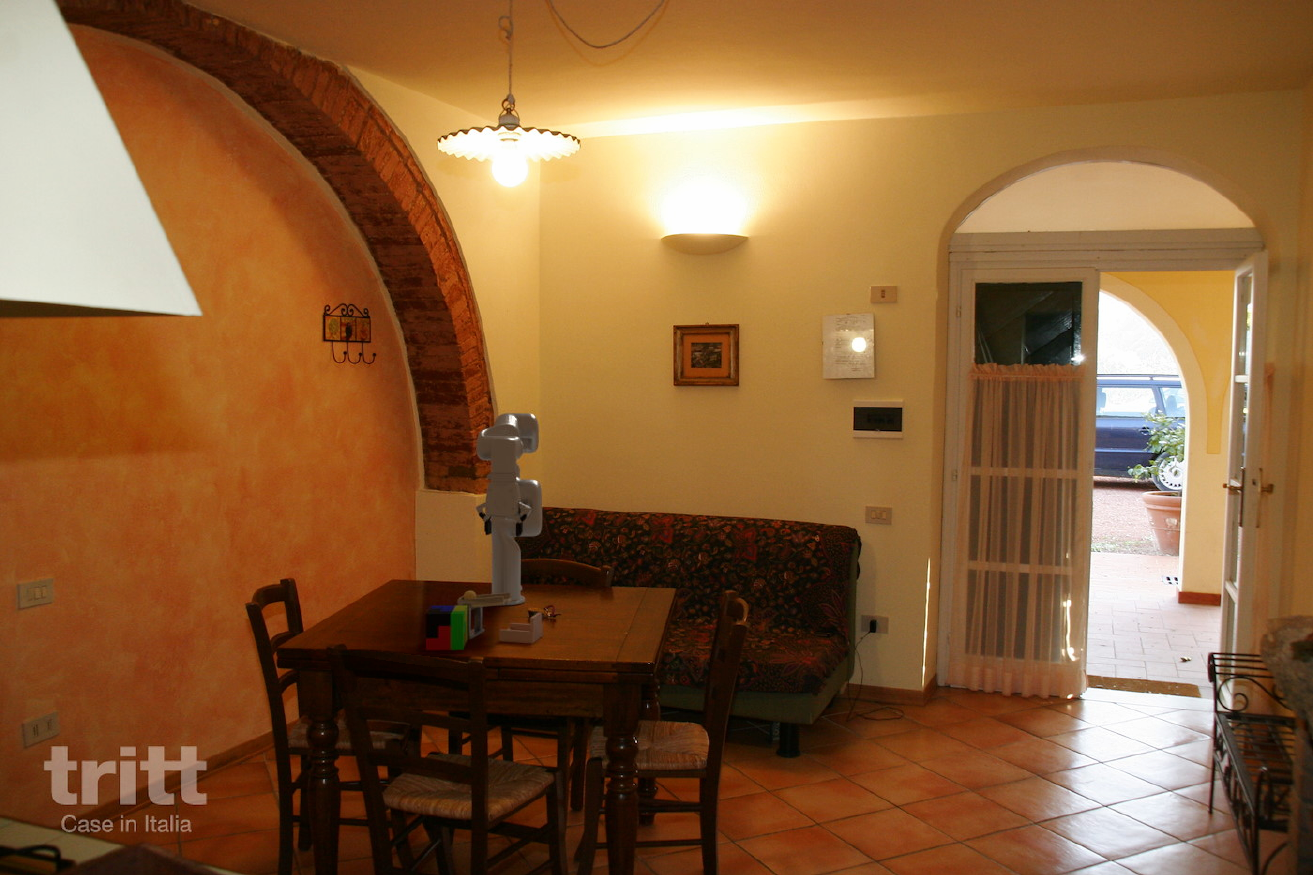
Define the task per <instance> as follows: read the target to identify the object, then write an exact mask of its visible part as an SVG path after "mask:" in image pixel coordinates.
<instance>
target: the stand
mask: <svg viewBox="0 0 1313 875" xmlns="http://www.w3.org/2000/svg"><path fill="white" fill-rule="evenodd" d="M463 606H467V640H472V639H474V638H475V637H477V636H479V635H481V634H483V633H484V632H486V631H485V630H486V629H485V628H483V607H476V608H475V609H473V610H474V611H473V612H474V615H473V617H474V622H473V627H474V628H473V629H472V627H471V626H472V622H471V621H472V620H471V619H472V612H471V611H472V610H471V604H469V603H464V604H463Z"/></svg>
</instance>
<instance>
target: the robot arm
mask: <svg viewBox="0 0 1313 875" xmlns="http://www.w3.org/2000/svg"><path fill="white" fill-rule="evenodd" d="M538 422H539V421H538V419H537V417H536V416H535V415H534V414H533V413H531V412H530V413H527V412H526V413H525V412H506V413H501V414H500V415H498V416H497V417H496V418H495V421H494V425H493V426H490V427H487V428H485V429H483V430H481V431H480V432H479V434H478V436H477V439H476V440H477V441H476V446H475V447H476V456H477V457H478V458H479V459H480V460H482V461H490V462H491V463H490V473H488V474H486V478H487V480H488V479H489V481H490V482H488V483H487V487H486V494H485V502H483V503H481V504H479V505H477V506H475V509H476V512H477V513H478V516H479V517H480V518H481V520H482V521H483V524H484V526H483V527H484V529H483V531H484V533H485V536H489V535H491V594H496V593H508V592H510V593H511V601H510V602H508V603H506V604H504V605H503V606H513V605H520V604H523V603H525V602H526V598H525V596H523V595H522V594H521V591H523V586H522V585H521V576H522V575H521V574H522V572H521V570H522V569H521V568H522V567H521V565H522V564H521V561H522V560H521V559H522V557H521V554H522V553H521V547H520V546H519V544H518V543H517V542H516V540H515V539H514V538H515V537H536V536H539V535H540V534H541V533H542V529H543V492H542V491H543V490H542V487H541V486H542V485H541V483H540V482H539V481H538V480H535V479H532V478H531V479H526V478H525V479H523V478H522V479H521V469H520V468H521V467H520V465H519V464H518V463H517V460H519V459H520V458H522V456H523V454H533V453H536V452H537V450H538V449H539V446H540V445H539V444H540V427H539V423H538ZM483 509H484V510H483ZM484 511H485V512H484Z"/></svg>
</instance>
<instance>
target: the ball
mask: <svg viewBox="0 0 1313 875" xmlns="http://www.w3.org/2000/svg"><path fill="white" fill-rule="evenodd" d="M476 595H477V593H476V592H475V591H473V590H468V591H465V592H464V594H463V596H464V599H475V598H476Z"/></svg>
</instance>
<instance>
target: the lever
mask: <svg viewBox="0 0 1313 875" xmlns="http://www.w3.org/2000/svg"><path fill="white" fill-rule="evenodd" d="M510 601H511V593H510V592H508V593H496V594H492V593H485V594H484V593H483V594H476V598H475V599H464V595H463V596H461V597H459V598H458V599H457V604H456V605H453V606H463V604H464V603H469V604H471V611H473V610H474V609H475V608H476V607H482V608H483V607H493V606H494V607H495V606H505V605H504V604H506V603H508V602H510Z"/></svg>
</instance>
